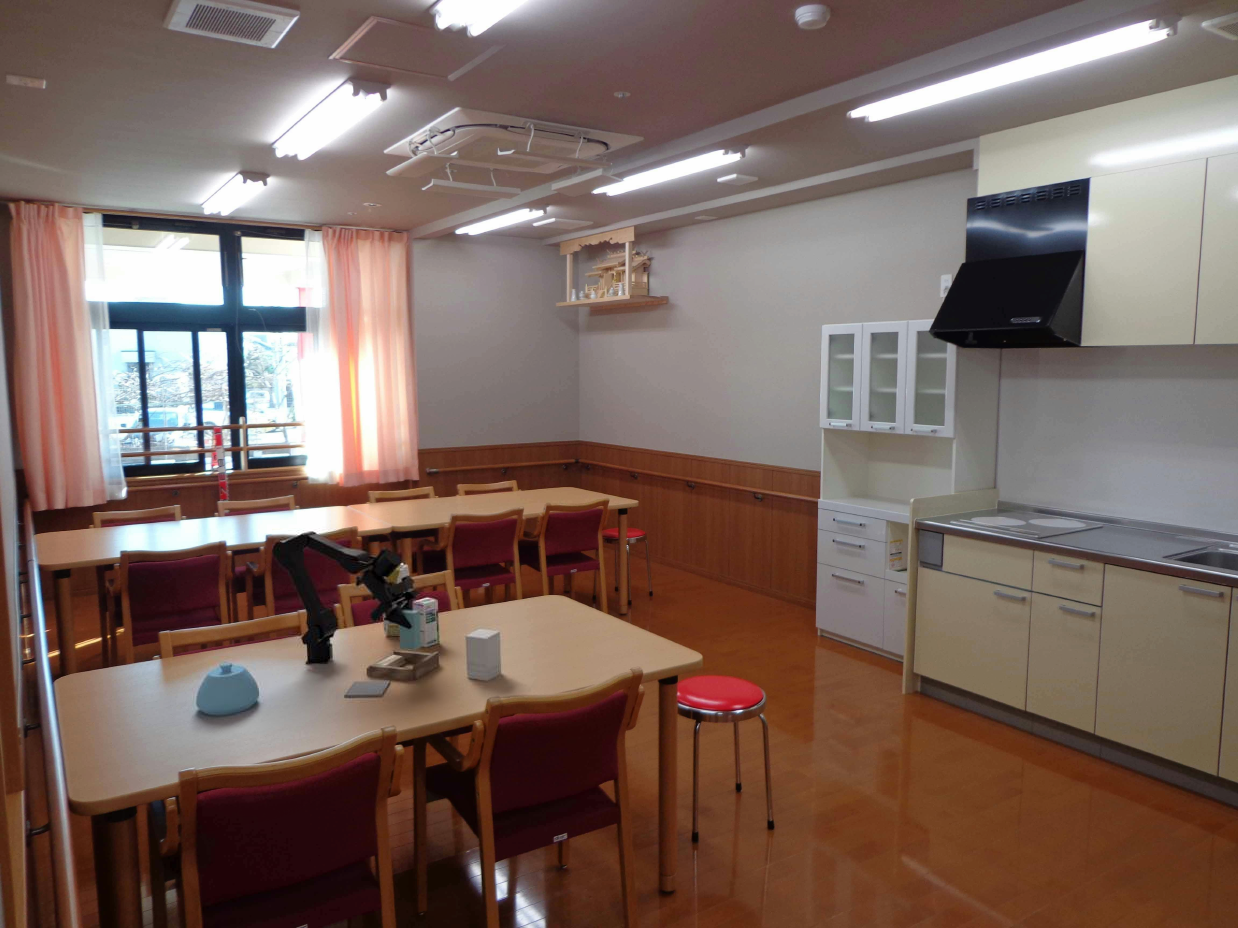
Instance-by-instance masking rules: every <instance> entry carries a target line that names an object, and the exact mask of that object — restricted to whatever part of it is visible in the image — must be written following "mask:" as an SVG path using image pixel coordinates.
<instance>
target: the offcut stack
mask: <svg viewBox="0 0 1238 928" xmlns="http://www.w3.org/2000/svg"><path fill="white" fill-rule="evenodd" d="M403 664H404V665H405V664H406V662H405V661H404V658H403V656H398V655H392V656H390V657H389V658H387V659H385V660H383V661H381V662H379V663H377V664H375V665H382V666H391V667H400V666H401V665H402V666H403ZM402 666H401V667H402Z"/></svg>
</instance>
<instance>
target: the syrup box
mask: <svg viewBox="0 0 1238 928" xmlns="http://www.w3.org/2000/svg"><path fill="white" fill-rule="evenodd" d="M438 604H439V601H438V599H435V598H432V597H425V598H422V599H418V600H413V601H412V609H413V610H417V611H420V644H421V647H423V648H428V647H431V646H433V645H436V644H440V624H439V605H438Z"/></svg>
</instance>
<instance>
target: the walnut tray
mask: <svg viewBox="0 0 1238 928" xmlns="http://www.w3.org/2000/svg"><path fill="white" fill-rule="evenodd" d="M392 655H398V656H403V658H404V661H405V663H409V662H413V663H412V664H414V665H412V668H409V667H402V666H401V667H391V666H382V665H375V664H377V663H379V662H381V661H383V660H385V659H387V658H389V657H390V656H392ZM439 665H440V651H434V652H432V653H430V652H429V653H428V652H420V651H419V652H418V651H411V650H399V649H398V650H397V649H394V650H393V652H392V653H389V654H388V655H386V656H384V657H383V658H381V659H379V660H378V661H376V662H374V663H371V664H369V665H368V667H366V676H367V675H368V676H370V677H376V676H378V677H377V678H385V677H387V678H388V679H394V678H395V679H396V680H405V681H418V680H419V679H421V678H422V677H424V676H425V675H427V674H428V673H429V671H430V672H431V671H433V670H434V669H435V668H437V667H438V666H439ZM423 675H424V676H423ZM387 678H386V679H387Z"/></svg>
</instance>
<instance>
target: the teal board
mask: <svg viewBox="0 0 1238 928" xmlns="http://www.w3.org/2000/svg"><path fill="white" fill-rule="evenodd" d="M402 613H403V614H404V616H405V617H406V618H407V620H408V621H409V622H410V624H411V626H412V628H411V629H407V628H405V627H403V626H400V625H399V630H400V636H399V648H400V649H401V650H406V651H417V650H418V649H420V648H421V647H422V646H421V644H420V611H417V610H406V609H404V610H402Z"/></svg>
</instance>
